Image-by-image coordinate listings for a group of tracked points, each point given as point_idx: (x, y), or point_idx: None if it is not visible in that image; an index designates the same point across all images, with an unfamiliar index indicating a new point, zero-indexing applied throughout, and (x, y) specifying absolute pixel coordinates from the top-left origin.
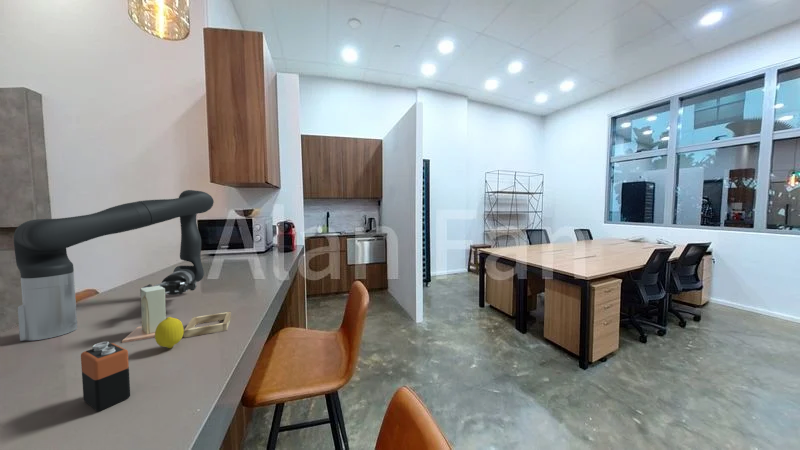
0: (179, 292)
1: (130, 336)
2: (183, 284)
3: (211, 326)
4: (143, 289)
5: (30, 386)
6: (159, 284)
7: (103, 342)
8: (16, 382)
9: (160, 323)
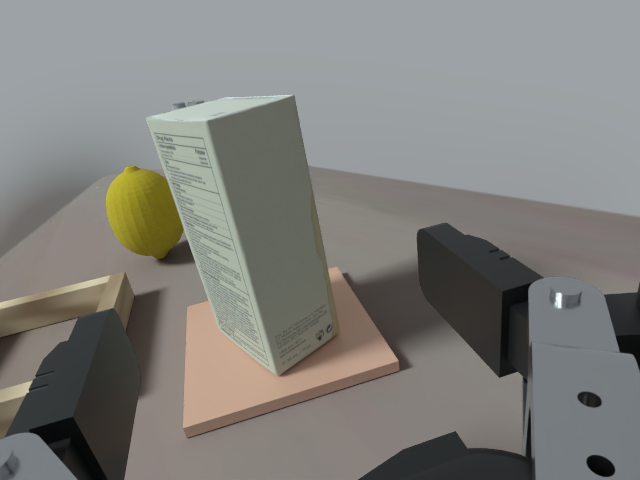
0: (126, 351)
1: (333, 286)
2: (31, 458)
3: (28, 297)
4: (261, 97)
5: (364, 184)
6: (534, 377)
7: (194, 103)
8: (410, 186)
9: (154, 172)
